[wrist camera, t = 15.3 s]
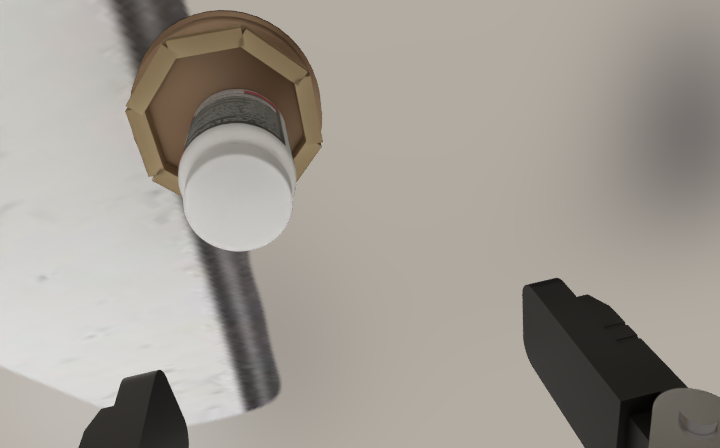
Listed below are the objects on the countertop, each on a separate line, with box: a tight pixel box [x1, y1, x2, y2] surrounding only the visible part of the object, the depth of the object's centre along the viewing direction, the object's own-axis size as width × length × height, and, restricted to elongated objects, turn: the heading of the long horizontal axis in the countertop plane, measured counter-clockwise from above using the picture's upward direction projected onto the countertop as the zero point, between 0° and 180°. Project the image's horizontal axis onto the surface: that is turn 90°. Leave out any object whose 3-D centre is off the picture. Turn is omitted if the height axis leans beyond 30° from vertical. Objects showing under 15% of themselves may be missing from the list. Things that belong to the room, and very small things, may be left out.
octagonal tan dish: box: [125, 10, 323, 196], centre depth 28 cm, size 10×10×4 cm
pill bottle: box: [178, 89, 296, 251], centre depth 24 cm, size 5×5×8 cm
